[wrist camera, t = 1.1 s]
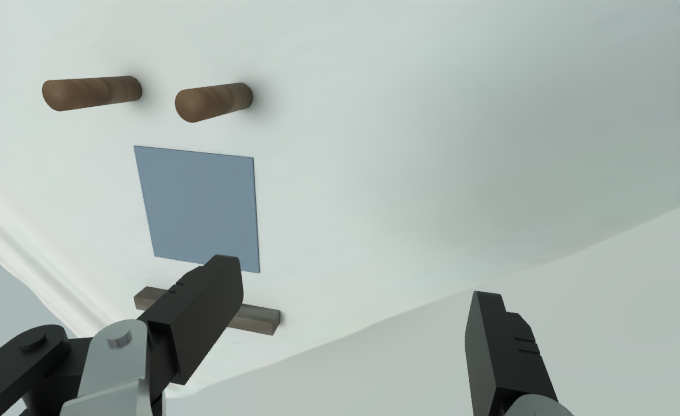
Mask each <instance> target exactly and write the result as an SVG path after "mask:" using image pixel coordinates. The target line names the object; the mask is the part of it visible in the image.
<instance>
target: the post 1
mask: <svg viewBox="0 0 680 416" xmlns="http://www.w3.org/2000/svg"><path fill="white" fill-rule="evenodd" d="M42 94H43V97H44V99H45V101H46V103H47V104H48V105H49V106H50V107H51V108H52V109H54V110H56V111H66V110H73V109H80V108H87V107H94V106H101V105H108V104H115V103H122V102H129V101H136V100H138V99H139V98H140V97H141V94H142V89H141V86H140V84H139V82H138V81H137V80H136V79H135V78H134V77H131V76H119V77H101V78H83V79H65V80H49V81H46V82H45V83H44V84H43V87H42Z"/></svg>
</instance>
